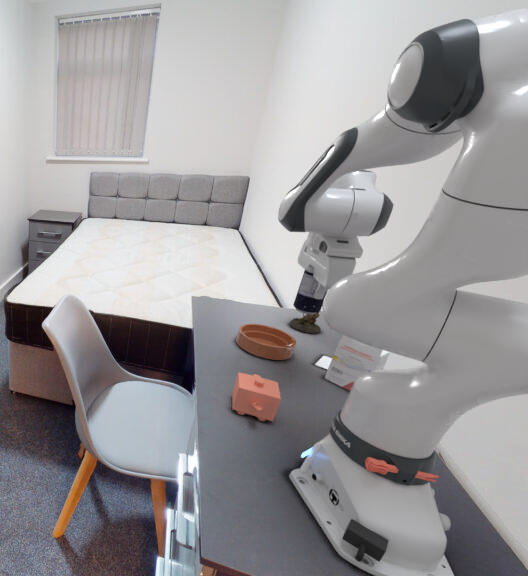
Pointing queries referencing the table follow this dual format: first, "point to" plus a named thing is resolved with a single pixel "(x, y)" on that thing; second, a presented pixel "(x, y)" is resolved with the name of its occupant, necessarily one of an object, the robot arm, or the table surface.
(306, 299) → the beverage can
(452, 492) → the table surface
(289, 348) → the orange round dish
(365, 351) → the ink cartridge box
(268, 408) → the pink cube teapot
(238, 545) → the table surface
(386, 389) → the robot arm
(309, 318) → the sculpture
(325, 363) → the white box
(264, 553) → the table surface
